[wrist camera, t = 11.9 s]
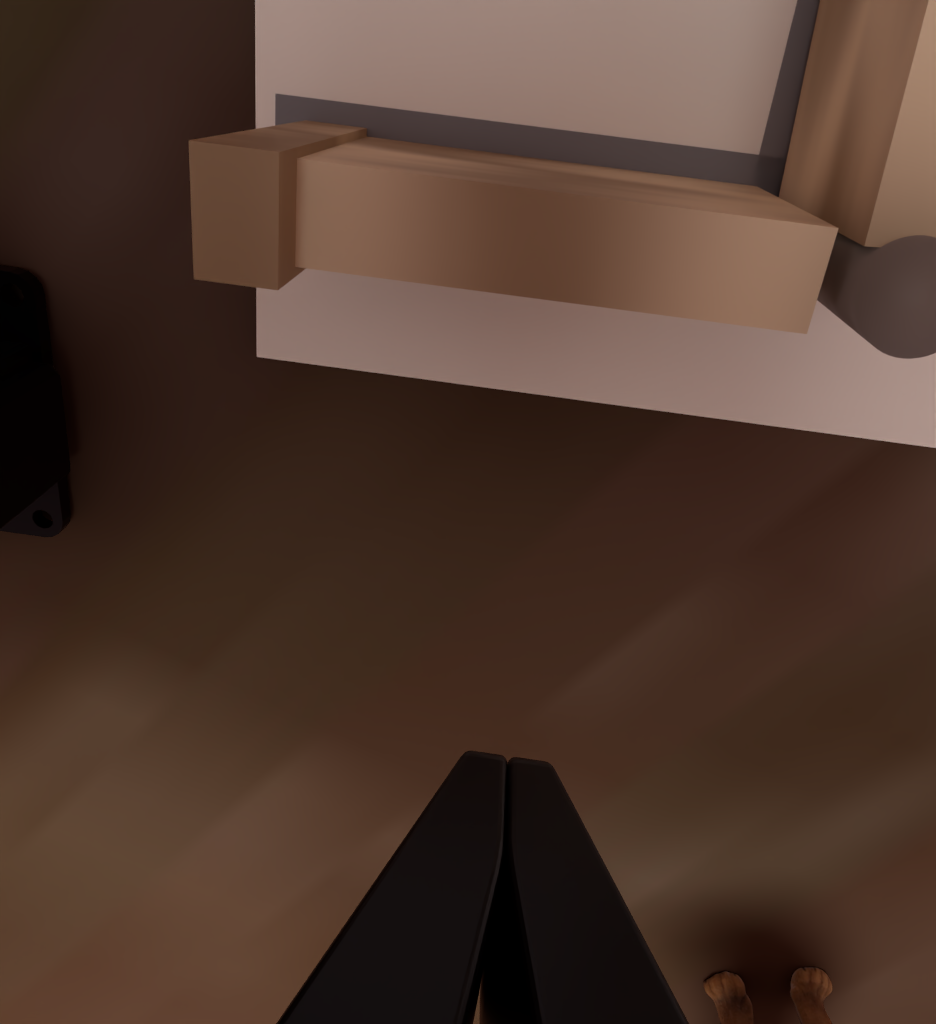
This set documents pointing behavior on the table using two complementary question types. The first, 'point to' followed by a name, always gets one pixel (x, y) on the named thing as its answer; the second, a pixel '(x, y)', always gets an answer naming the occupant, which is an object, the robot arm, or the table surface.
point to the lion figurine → (805, 993)
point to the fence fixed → (499, 226)
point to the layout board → (584, 140)
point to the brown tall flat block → (872, 166)
